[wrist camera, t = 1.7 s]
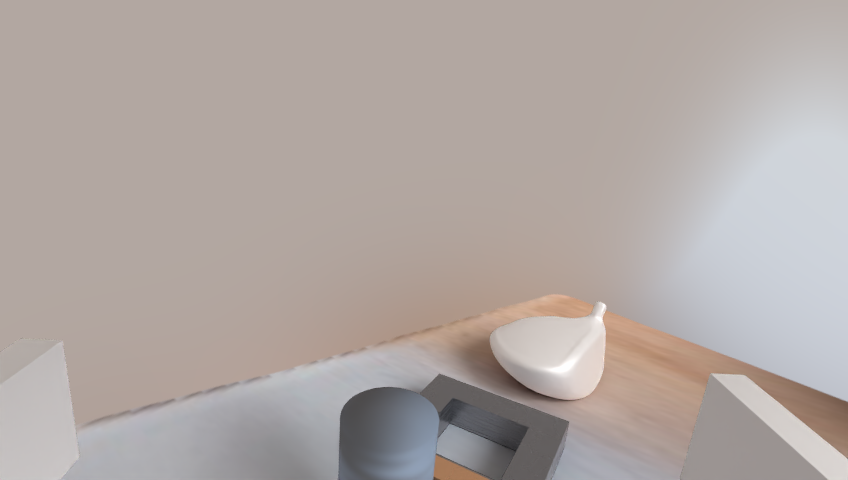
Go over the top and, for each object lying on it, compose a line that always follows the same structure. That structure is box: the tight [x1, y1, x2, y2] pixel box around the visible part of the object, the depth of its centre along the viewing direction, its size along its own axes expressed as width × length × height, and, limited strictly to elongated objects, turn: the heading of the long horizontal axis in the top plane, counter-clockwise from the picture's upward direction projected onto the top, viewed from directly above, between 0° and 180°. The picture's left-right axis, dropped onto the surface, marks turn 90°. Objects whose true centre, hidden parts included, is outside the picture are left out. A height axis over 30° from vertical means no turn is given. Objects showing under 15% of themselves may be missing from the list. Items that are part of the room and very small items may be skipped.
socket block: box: [420, 374, 569, 480], centre depth 35 cm, size 12×12×3 cm
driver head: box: [489, 301, 606, 400], centre depth 48 cm, size 10×11×12 cm
